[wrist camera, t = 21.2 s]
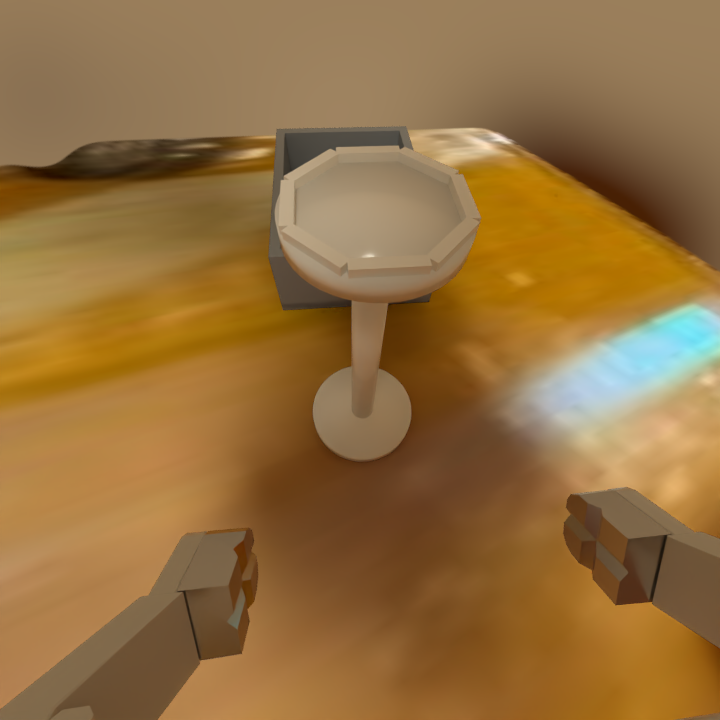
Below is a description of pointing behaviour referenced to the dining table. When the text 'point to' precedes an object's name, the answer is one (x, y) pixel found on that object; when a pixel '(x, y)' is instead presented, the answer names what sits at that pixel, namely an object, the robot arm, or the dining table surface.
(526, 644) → the dining table surface
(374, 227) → the pedestal dish
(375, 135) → the tray
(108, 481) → the dining table surface
